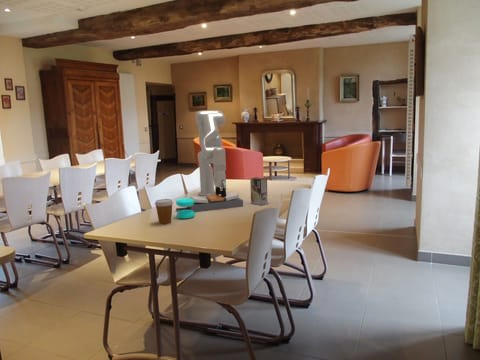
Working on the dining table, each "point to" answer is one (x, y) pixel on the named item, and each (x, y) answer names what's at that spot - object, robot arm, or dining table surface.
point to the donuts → (185, 203)
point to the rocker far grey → (231, 196)
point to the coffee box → (259, 191)
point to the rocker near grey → (199, 199)
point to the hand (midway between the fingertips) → (220, 195)
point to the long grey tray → (213, 205)
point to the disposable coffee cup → (164, 210)
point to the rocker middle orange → (214, 198)
